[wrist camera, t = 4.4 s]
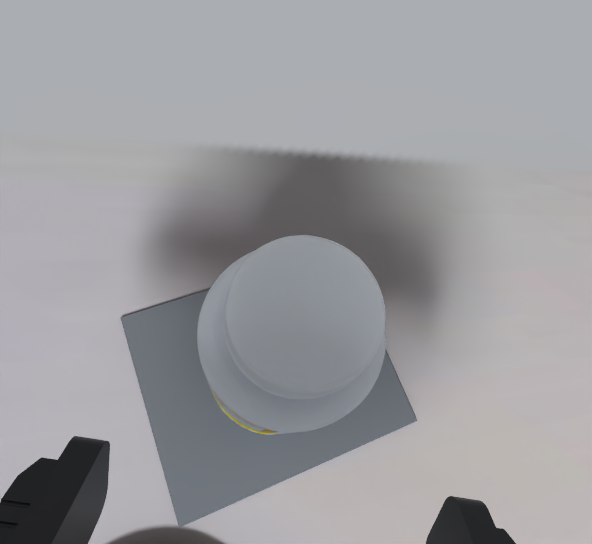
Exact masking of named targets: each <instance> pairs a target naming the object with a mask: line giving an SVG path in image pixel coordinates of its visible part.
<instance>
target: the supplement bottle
mask: <svg viewBox="0 0 592 544" xmlns="http://www.w3.org/2000/svg"><path fill="white" fill-rule="evenodd" d="M385 324H386V314H385V304H384V299H383V295H382V292H381V289H380V287H379V285H378V283H377V281H376V279H375V277H374V275H373V274H372V272H371V271H370V269H369V268H368V267H367V266H366V264H365V263H364V262H363V261H362V260H361V259H360V258H359V257H358V256H357V255H355V254H354V253H353V252H352V251H350V250H349V249H347V248H346V247H344V246H342V245H341V244H338V243H336V242H334V241H332V240H329V239H325V238H322V237H318V236H311V235H295V236H286V237H282V238H279V239H276V240H273V241H271V242H268V243H266V244H265V245H263V246H261V247H259V248H258V249H257V250H254V251H252V252H250V253H248V254H246V255H244V256H242V257H241V258H239V259H238V260H236V261H235V262H233V263H232V264H231V265H230V266H229V267H228V268H226V269H225V270H224V271H223V272H222V273H221V275H220V276H219V277H218V278H217V279H216V280H215V282H214V283H213V285H212V287H211V288H210V290H209V292H208V293H207V295H206V297H205V300H204V302H203V305H202V308H201V311H200V315H199V320H198V329H197V345H198V353H199V359H200V362H201V366H202V369H203V372H204V374H205V377H206V379H207V382H208V385H209V387H210V390H211V393H212V395H213V397H214V399H215V401H216V403H217V404H218V406H219V407H220V409H221V410H222V411H223V412H224V414H225V415H226V416H227V417H228V418H229V419H231V420H232V421H233V422H234V423H236V424H237V425H239V426H241V427H243V428H245V429H247V430H249V431H252V432H255V433H260V434H284V433H294V432H305V431H311V430H316V429H319V428H323V427H325V426H328V425H330V424H332V423H334V422H336V421H338V420H340V419H341V418H343V417H345V416H346V415H347V414H349V413H350V412H351V411H352V410H354V409H355V408H356V407H357V406H358V405H359V404H360V403H361V402H362V401H363V400H364V399H365V398H366V396H367V395H368V394H369V392H370V391H371V389H372V388H373V386H374V384H375V382H376V380H377V378H378V376H379V374H380V371H381V368H382V364H383V360H384V355H385V347H386V333H385Z"/></svg>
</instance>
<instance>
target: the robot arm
mask: <svg viewBox="0 0 592 544" xmlns="http://www.w3.org/2000/svg"><path fill="white" fill-rule="evenodd" d="M109 452H110V443H109V441H104V440H97V439H91V438H85V437H78V436H75V437H73V438H72V439H71V440H70V442H69V443H68V445H67V446H66V448H65V449H64V451H63V453H62V454H61V456H60V457H59V459H58V460H54V459H47V458H40V459H39V460H38V461H36V462H35V463H34V464H32V465H31V466H30V467H29V468H27V469H26V470H25V471H23V472H22V473H21V474H19V475H18V476H17V478H16V479H15V480H14V482H13V483H12V485H11V486H10V488H9V489H8V490H7V492H6V493H5V495H4V496H3V498H2V499H1V502H0V544H88V542H89V539H90V537H91V535H92V533H93V531H94V528H95V526H96V524H97V522H98V519H99V517H100V514H101V512H102V509H103V506H104V502H105V499H106V494H107V488H108V471H109ZM426 544H516V543H515V542H514V541H513V540H512V538H511V537H510V536H509V535H508V533H507V532H506V531H505V530H504V529H499V528H496V527H495V524H494V522H493V520H492V518H491V515H490V513H489V511H488V509H487V507H486V505H485V504H484V503H483V502H482V501H478V500H472V499H466V498H459V497H453V496H449V497H448V498H447V499H446V500H445V502H444V504H443V506H442V508H441V510H440V512H439V514H438V517H437V519H436V521H435V523H434V525H433V527H432V529H431V531H430V533H429V535H428V537H427V541H426Z"/></svg>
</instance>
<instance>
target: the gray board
mask: <svg viewBox="0 0 592 544" xmlns="http://www.w3.org/2000/svg"><path fill="white" fill-rule="evenodd" d="M209 290H210V289H209ZM209 290H206V291H203V292H199V293H196V294H193V295H190V296H187V297H184V298H181V299H177V300H174V301H171V302H168V303H165V304H162V305H158V306H155V307H152V308H149V309H146V310H143V311H140V312H136V313H133V314H130V315H127V316H124V317H121V321H122V324H123V328H124V332H125V335H126V339H127V342H128V346H129V350H130V353H131V357H132V360H133V364H134V367H135V371H136V375H137V378H138V382H139V385H140V389H141V393H142V396H143V400H144V403H145V407H146V410H147V414H148V418H149V421H150V425H151V428H152V432H153V436H154V439H155V443H156V446H157V450H158V454H159V457H160V461H161V464H162V468H163V471H164V475H165V479H166V482H167V486H168V489H169V493H170V497H171V500H172V504H173V507H174V511H175V514H176V518H177V522H178V525H179V527H182V526H184V525H186V524H188V523H190V522H193V521H195V520H197V519H199V518H202V517H204V516H206V515H208V514H210V513H213V512H215V511H217V510H219V509H222V508H224V507H226V506H228V505H230V504H233V503H235V502H237V501H239V500H242V499H244V498H246V497H248V496H250V495H253V494H255V493H257V492H259V491H262V490H264V489H266V488H268V487H270V486H273V485H275V484H277V483H279V482H282V481H284V480H286V479H288V478H291V477H293V476H295V475H297V474H299V473H302V472H304V471H306V470H308V469H311V468H313V467H315V466H317V465H319V464H322V463H324V462H326V461H328V460H331V459H333V458H335V457H337V456H339V455H342V454H344V453H346V452H348V451H351V450H353V449H355V448H357V447H359V446H362V445H364V444H366V443H368V442H371V441H373V440H375V439H377V438H380V437H382V436H384V435H386V434H388V433H391V432H393V431H395V430H397V429H400V428H402V427H404V426H406V425H408V424H411V423H413V422H415V421H417V419H416V417H415V415H414V413H413V410H412V408H411V406H410V404H409V401H408V399H407V397H406V395H405V392H404V390H403V388H402V386H401V384H400V381H399V379H398V377H397V375H396V372H395V370H394V368H393V366H392V363H391V361H390V359H389V357H388V354H387V352H386V350H385V355H384V360H383V364H382V368H381V371H380V374H379V376H378V378H377V380H376V382H375V384H374V386H373V388H372V389H371V391H370V392H369V394H368V395H367V396H366V398H365V399H364V400H363V401H362V402H361V403H360V404H359V405H358V406H357V407H356V408H355V409H354V410H352V411H351V412H350V413H349V414H347V415H346V416H345V417H343V418H341V419H340V420H338V421H336V422H334V423H332V424H330V425H328V426H325V427H323V428H319V429H316V430H311V431H305V432H294V433H284V434H260V433H255V432H252V431H249V430H247V429H245V428H243V427H241V426H239V425H237V424H236V423H234V422H233V421H232V420H231V419H229V418H228V417H227V416H226V415H225V414H224V412H223V411H222V410H221V409H220V407H219V406H218V404H217V403H216V401H215V399H214V397H213V395H212V393H211V390H210V387H209V385H208V382H207V379H206V377H205V374H204V372H203V369H202V366H201V362H200V359H199V353H198V345H197V329H198V320H199V315H200V311H201V308H202V305H203V302H204V300H205V297H206V295H207V293H208V292H209Z"/></svg>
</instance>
